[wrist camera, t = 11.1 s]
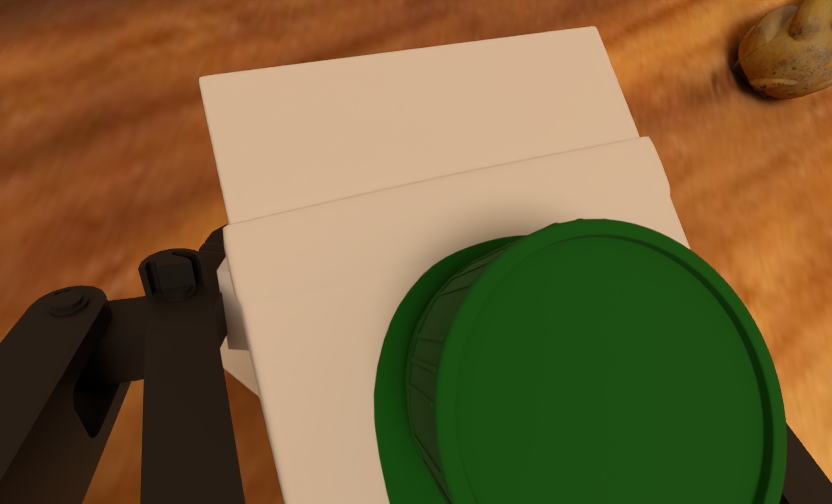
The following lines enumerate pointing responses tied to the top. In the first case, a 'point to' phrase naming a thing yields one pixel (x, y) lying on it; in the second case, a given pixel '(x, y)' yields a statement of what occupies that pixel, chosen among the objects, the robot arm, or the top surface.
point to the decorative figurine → (789, 51)
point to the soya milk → (481, 287)
